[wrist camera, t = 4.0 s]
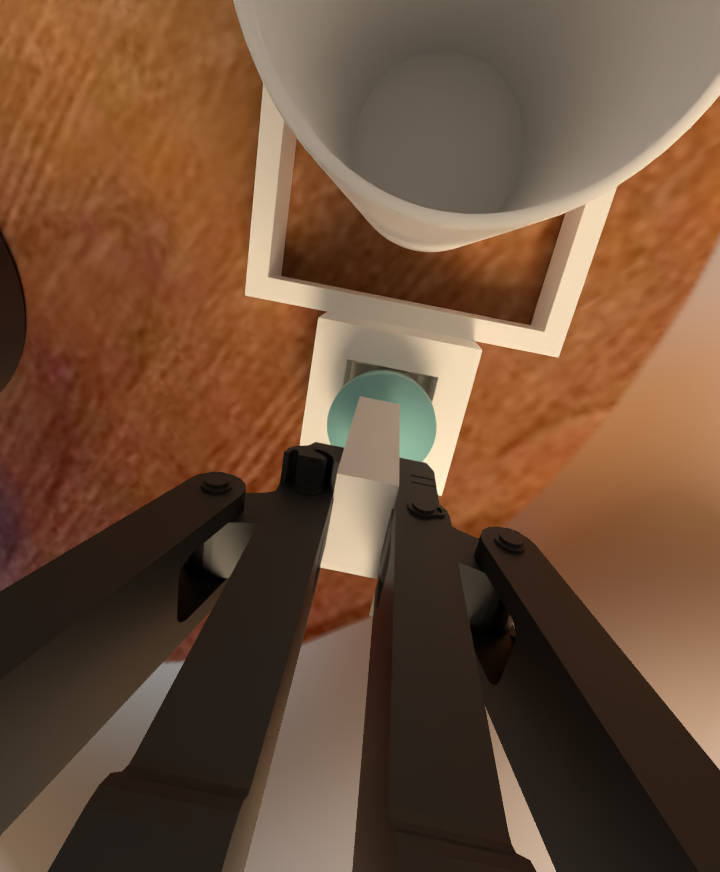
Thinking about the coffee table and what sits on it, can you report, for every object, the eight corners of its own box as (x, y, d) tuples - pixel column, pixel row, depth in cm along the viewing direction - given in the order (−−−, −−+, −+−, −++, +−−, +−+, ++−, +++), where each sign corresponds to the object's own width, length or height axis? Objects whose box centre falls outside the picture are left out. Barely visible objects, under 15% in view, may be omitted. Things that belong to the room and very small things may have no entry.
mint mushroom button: (335, 428, 24) (319, 466, 19) (350, 344, 22) (336, 364, 18) (419, 445, 24) (422, 487, 19) (439, 362, 22) (448, 386, 18)
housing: (248, 416, 27) (214, 449, 22) (297, -88, 19) (262, -205, 14) (503, 468, 26) (525, 512, 22) (664, -22, 18) (753, -119, 14)
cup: (401, 284, 23) (395, 322, 8) (313, 124, 21) (97, -206, 6) (556, 188, 21) (915, 10, 6) (476, 0, 19) (729, -938, 4)
